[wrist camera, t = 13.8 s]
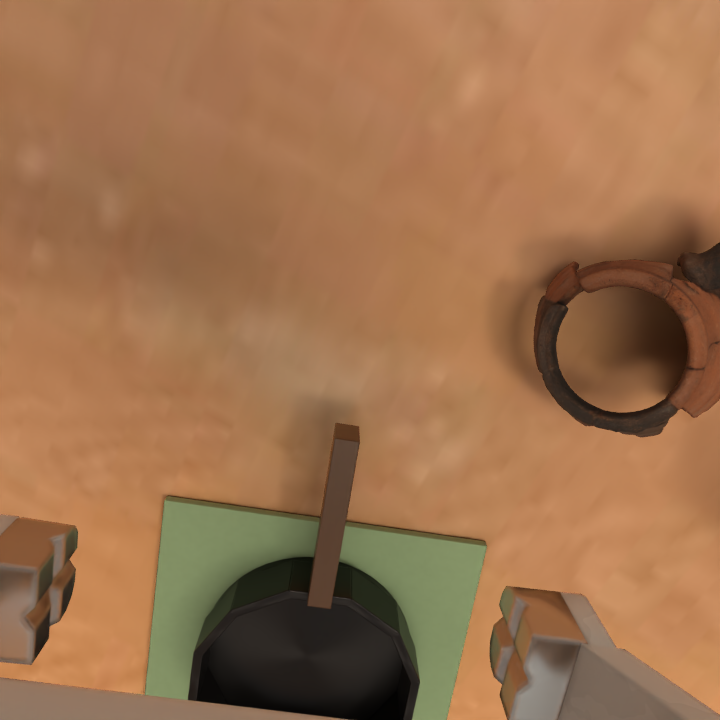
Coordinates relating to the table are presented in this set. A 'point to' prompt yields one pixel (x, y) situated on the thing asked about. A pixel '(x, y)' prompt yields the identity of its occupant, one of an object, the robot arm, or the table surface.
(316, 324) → the table surface
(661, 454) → the table surface
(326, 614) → the pan
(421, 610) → the trivet
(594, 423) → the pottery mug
